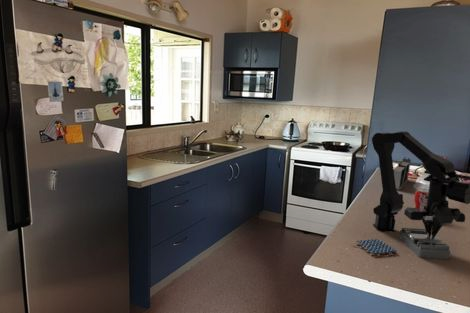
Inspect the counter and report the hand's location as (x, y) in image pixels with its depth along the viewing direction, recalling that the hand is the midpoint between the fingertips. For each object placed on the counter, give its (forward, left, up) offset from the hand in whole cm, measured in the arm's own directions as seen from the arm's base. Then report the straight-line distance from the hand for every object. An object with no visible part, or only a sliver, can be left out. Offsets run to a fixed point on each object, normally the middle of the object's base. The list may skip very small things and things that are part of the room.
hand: (431, 237), depth 126 cm
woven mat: (-20, -4, -5) cm, 21 cm away
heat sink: (-2, 0, -4) cm, 5 cm away
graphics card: (+28, +91, -5) cm, 95 cm away
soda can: (+14, +35, -4) cm, 38 cm away
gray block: (-2, 0, -1) cm, 3 cm away
